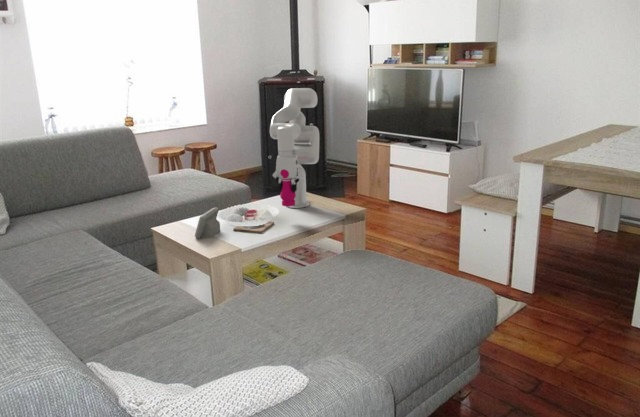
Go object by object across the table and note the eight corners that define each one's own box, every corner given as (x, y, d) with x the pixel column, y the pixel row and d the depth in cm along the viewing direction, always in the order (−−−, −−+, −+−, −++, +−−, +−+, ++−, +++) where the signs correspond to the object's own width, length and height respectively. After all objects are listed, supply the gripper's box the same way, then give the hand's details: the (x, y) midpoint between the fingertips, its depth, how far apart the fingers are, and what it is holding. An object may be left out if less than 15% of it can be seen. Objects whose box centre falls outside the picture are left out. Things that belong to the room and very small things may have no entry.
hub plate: (247, 221, 256) (247, 219, 256) (274, 224, 252) (273, 221, 251) (233, 230, 244) (233, 228, 243) (261, 233, 239) (261, 230, 239)
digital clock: (211, 227, 249) (209, 205, 246) (227, 229, 245) (225, 207, 242) (188, 238, 235) (186, 215, 232) (205, 241, 231) (203, 217, 228)
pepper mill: (278, 205, 251) (274, 164, 245) (286, 201, 257) (283, 160, 250) (291, 207, 248) (288, 165, 241) (299, 202, 254) (296, 161, 247)
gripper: (306, 152, 245) (308, 190, 251) (272, 150, 250) (274, 187, 256) (301, 156, 238) (302, 195, 244) (265, 154, 244) (268, 192, 250)
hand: (288, 191), depth 250 cm, fingers closed on pepper mill, 5 cm apart
